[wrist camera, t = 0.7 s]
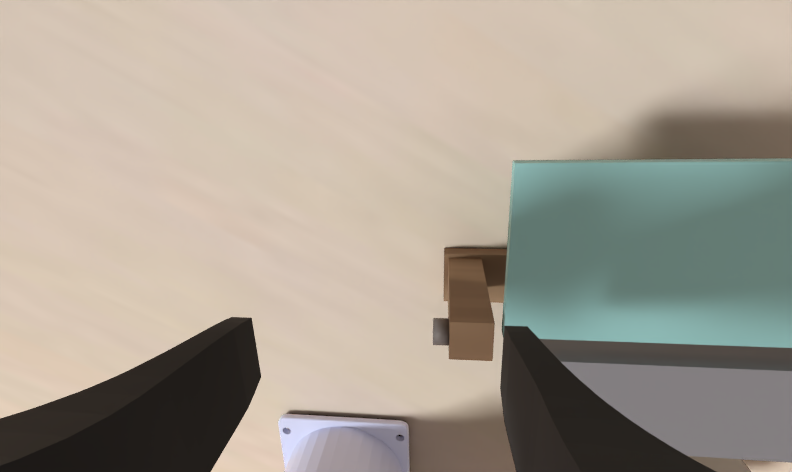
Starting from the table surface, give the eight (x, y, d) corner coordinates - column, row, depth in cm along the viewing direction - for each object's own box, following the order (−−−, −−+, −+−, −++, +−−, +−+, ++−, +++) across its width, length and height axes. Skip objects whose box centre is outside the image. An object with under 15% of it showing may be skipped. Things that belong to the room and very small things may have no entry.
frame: (781, 302, 21) (926, 398, 15) (436, 293, 23) (433, 375, 17) (797, 253, 20) (959, 333, 14) (436, 247, 22) (433, 316, 16)
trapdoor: (789, 432, 17) (819, 464, 16) (494, 416, 19) (498, 444, 17) (890, 154, 13) (940, 163, 12) (510, 157, 15) (517, 166, 13)
